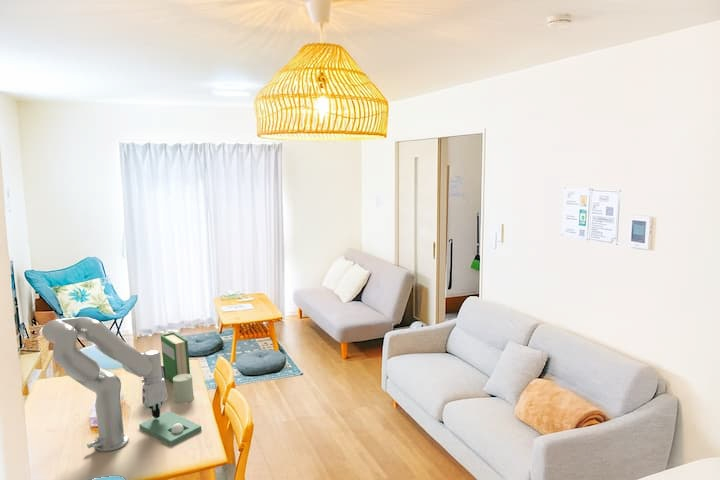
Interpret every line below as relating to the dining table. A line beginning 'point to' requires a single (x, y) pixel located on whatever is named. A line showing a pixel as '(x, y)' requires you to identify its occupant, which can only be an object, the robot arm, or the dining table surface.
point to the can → (183, 388)
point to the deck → (169, 427)
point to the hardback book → (175, 355)
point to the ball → (177, 428)
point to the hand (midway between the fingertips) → (156, 416)
